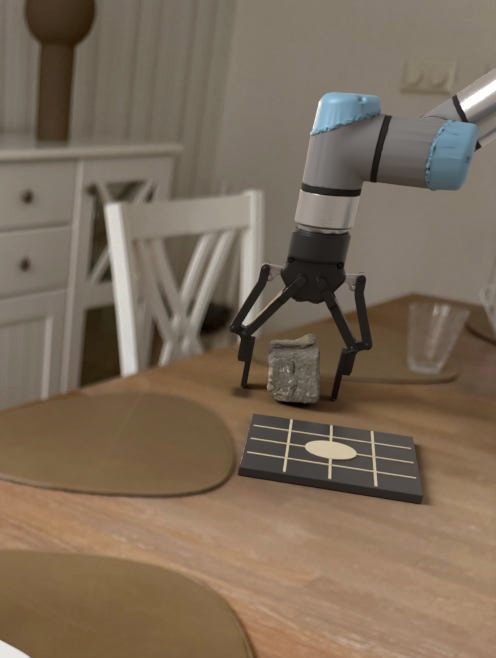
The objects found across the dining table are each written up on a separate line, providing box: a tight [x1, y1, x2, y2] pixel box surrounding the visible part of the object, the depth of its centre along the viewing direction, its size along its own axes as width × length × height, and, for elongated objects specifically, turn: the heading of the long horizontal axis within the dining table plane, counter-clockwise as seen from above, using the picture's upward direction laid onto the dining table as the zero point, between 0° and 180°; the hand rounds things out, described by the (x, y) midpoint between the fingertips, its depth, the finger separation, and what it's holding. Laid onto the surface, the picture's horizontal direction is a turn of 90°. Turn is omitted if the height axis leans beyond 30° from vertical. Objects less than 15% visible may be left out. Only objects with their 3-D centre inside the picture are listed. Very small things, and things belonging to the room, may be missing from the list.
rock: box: [266, 333, 321, 404], centre depth 138 cm, size 17×7×10 cm
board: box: [237, 412, 424, 505], centre depth 117 cm, size 20×20×1 cm
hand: (288, 390), depth 139 cm, fingers open, 12 cm apart
